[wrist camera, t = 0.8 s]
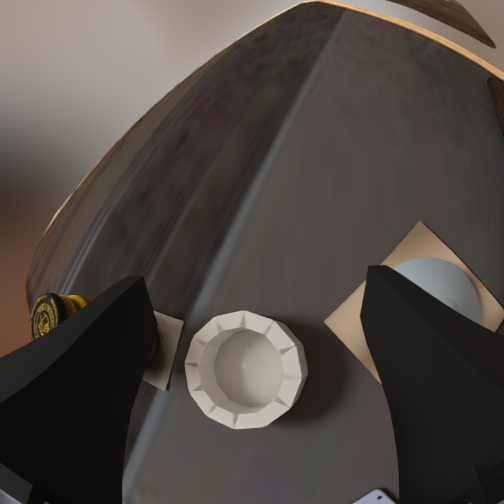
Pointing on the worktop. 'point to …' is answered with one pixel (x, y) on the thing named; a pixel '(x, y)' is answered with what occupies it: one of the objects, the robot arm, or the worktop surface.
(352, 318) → the mat
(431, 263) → the lid
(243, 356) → the bowl
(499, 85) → the kitchen knife
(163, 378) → the condiment
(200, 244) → the worktop surface
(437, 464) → the robot arm
